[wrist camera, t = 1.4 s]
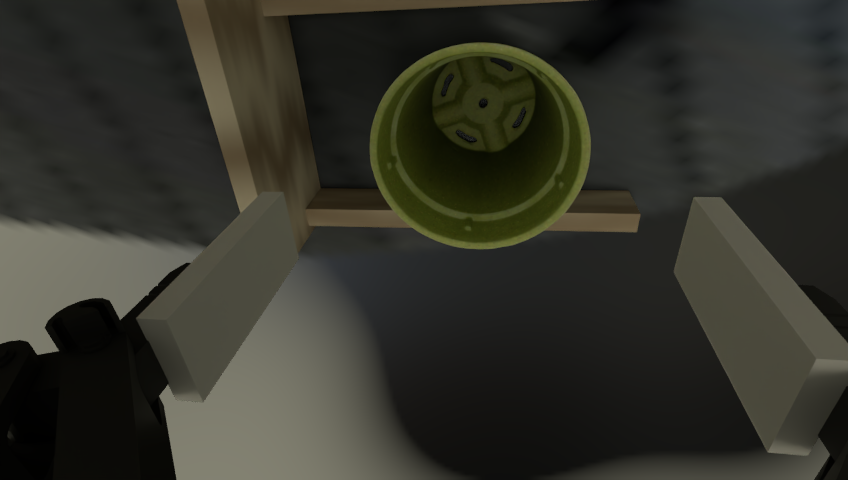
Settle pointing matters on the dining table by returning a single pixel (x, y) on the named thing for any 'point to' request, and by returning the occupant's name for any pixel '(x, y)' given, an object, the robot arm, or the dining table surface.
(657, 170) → the dining table surface
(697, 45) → the dining table surface
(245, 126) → the notch rack
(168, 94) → the dining table surface
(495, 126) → the plant pot
